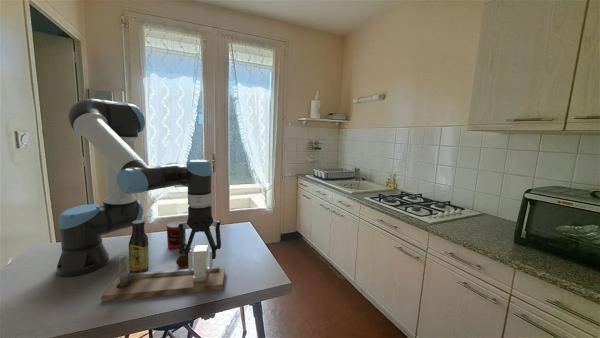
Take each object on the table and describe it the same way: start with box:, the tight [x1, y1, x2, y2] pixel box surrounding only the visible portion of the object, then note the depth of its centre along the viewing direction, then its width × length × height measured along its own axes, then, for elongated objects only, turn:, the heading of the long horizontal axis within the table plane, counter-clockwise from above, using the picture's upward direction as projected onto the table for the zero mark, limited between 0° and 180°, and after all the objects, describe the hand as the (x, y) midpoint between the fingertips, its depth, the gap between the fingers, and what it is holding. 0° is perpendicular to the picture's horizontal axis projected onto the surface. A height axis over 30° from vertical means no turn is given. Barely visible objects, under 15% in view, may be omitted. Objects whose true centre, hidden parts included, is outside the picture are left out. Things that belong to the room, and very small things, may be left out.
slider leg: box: [192, 244, 209, 283], centre depth 85 cm, size 4×6×11 cm, turn 13°
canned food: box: [166, 220, 187, 251], centre depth 112 cm, size 8×8×11 cm
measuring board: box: [101, 254, 226, 302], centre depth 83 cm, size 36×10×12 cm, turn 103°
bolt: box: [175, 243, 192, 269], centre depth 102 cm, size 6×5×15 cm
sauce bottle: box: [128, 219, 150, 274], centre depth 91 cm, size 6×6×20 cm
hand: (201, 267), depth 85 cm, fingers open, 6 cm apart
